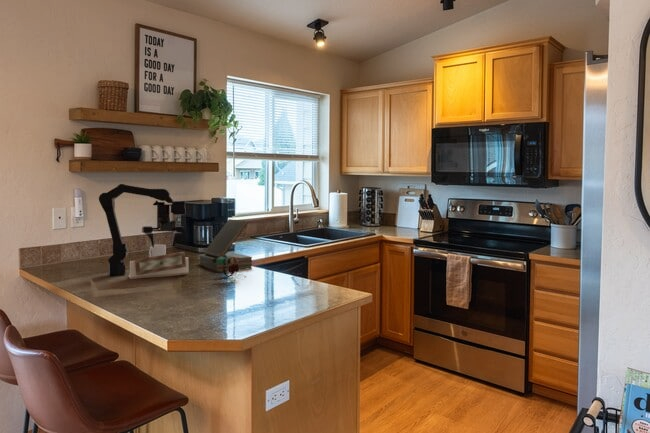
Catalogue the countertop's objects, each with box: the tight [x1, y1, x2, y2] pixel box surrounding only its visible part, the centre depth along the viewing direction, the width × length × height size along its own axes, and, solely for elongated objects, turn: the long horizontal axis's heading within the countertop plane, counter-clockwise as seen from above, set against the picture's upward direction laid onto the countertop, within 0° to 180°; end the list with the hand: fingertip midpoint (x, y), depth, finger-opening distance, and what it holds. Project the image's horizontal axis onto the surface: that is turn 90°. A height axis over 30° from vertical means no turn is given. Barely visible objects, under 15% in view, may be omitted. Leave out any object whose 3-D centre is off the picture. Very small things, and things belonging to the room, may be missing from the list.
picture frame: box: [134, 251, 186, 275], centre depth 220 cm, size 22×2×7 cm, turn 121°
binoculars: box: [213, 255, 240, 277], centre depth 224 cm, size 9×11×10 cm
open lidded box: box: [198, 218, 253, 273], centre depth 251 cm, size 23×20×25 cm
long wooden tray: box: [128, 256, 190, 280], centre depth 224 cm, size 26×6×8 cm, turn 121°
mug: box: [148, 243, 167, 257], centre depth 247 cm, size 10×7×12 cm, turn 66°
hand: (163, 247), depth 230 cm, fingers open, 9 cm apart
